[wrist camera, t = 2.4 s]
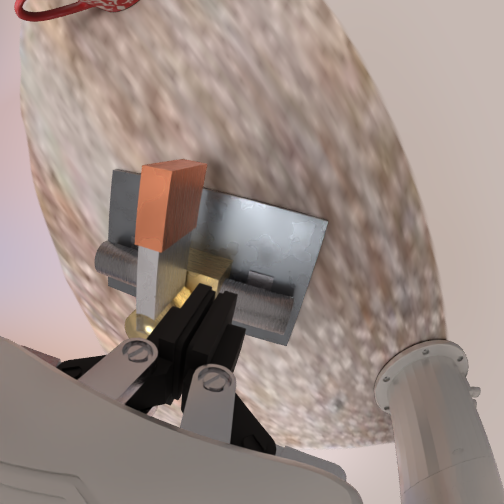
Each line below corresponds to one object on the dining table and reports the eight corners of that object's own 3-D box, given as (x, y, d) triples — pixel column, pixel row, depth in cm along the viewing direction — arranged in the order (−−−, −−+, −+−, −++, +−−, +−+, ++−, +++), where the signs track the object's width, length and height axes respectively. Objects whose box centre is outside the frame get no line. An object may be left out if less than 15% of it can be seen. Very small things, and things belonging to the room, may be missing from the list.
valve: (327, 220, 26) (330, 236, 21) (287, 342, 31) (281, 374, 27) (116, 169, 28) (85, 175, 24) (111, 283, 34) (86, 302, 29)
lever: (192, 321, 26) (165, 360, 21) (156, 308, 27) (124, 343, 21) (217, 166, 21) (184, 173, 16) (173, 157, 21) (131, 163, 16)
